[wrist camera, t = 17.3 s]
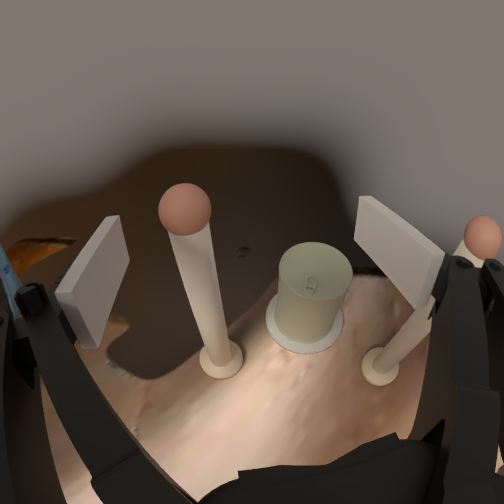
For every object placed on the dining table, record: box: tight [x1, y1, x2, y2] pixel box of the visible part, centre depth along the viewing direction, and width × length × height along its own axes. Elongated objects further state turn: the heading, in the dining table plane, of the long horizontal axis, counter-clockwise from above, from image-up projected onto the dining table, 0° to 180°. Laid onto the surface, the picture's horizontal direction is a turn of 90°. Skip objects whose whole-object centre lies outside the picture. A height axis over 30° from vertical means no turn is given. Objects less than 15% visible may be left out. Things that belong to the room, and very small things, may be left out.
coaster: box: [266, 293, 343, 354], centre depth 43 cm, size 12×12×1 cm
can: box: [274, 242, 353, 344], centre depth 38 cm, size 9×9×12 cm
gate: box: [159, 183, 502, 386], centre depth 27 cm, size 29×6×28 cm, turn 84°
